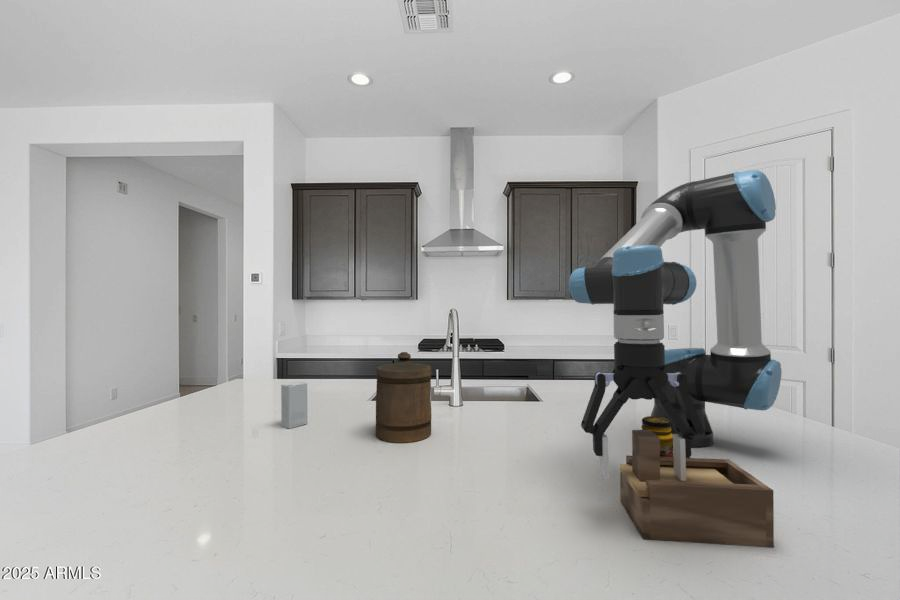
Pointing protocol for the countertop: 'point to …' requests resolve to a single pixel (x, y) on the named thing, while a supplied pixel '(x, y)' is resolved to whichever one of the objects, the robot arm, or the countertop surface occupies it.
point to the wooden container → (403, 401)
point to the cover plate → (672, 477)
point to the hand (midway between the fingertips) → (641, 476)
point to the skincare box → (294, 404)
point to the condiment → (660, 433)
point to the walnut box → (703, 507)
